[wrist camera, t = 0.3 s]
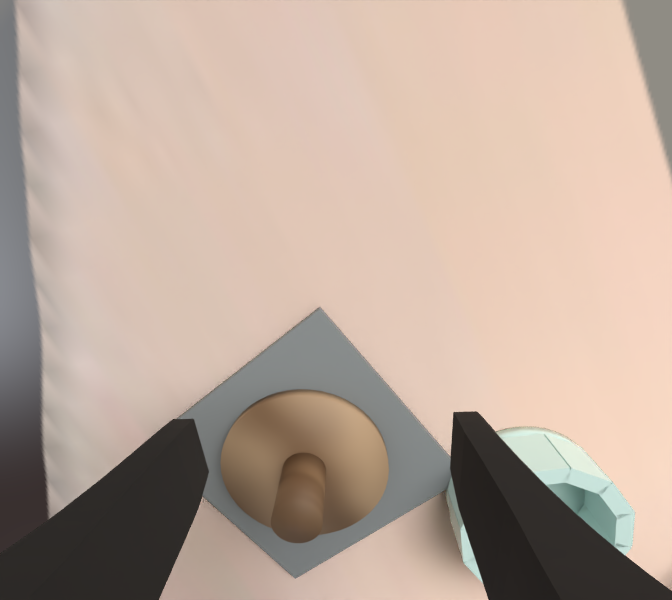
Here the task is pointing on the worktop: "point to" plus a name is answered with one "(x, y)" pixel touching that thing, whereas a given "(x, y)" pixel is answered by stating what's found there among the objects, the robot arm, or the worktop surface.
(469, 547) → the bowl
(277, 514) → the lid
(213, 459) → the mat
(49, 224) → the worktop surface
